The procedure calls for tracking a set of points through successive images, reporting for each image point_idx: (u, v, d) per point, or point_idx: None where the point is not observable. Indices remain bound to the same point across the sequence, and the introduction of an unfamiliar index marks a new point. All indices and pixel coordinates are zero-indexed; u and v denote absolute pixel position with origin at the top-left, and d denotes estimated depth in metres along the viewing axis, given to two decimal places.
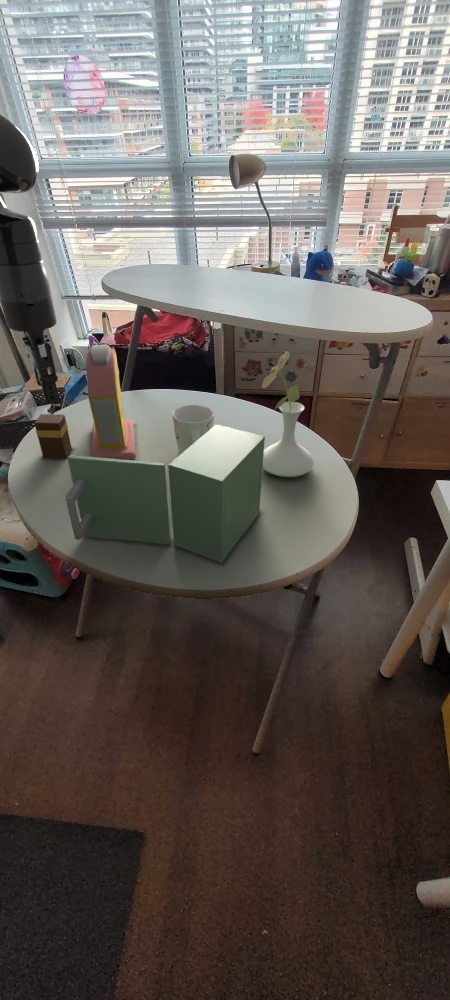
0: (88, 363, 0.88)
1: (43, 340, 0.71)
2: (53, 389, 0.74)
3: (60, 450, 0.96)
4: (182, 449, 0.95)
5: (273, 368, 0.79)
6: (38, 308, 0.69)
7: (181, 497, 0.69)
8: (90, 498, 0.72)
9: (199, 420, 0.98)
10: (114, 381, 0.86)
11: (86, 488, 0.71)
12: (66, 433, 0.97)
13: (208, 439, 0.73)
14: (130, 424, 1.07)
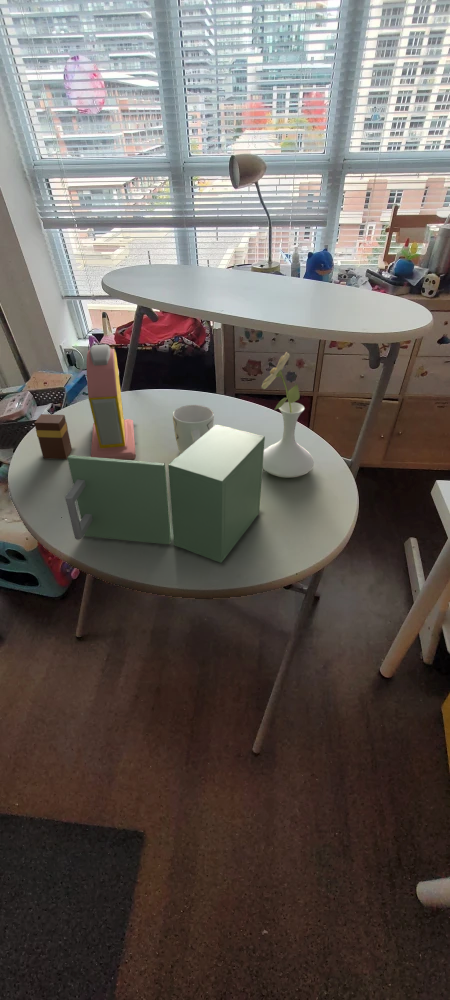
0: (88, 363, 0.88)
1: None
2: None
3: (60, 450, 0.96)
4: (182, 449, 0.95)
5: (273, 369, 0.79)
6: None
7: (181, 497, 0.69)
8: (90, 498, 0.72)
9: (199, 420, 0.98)
10: (114, 381, 0.86)
11: (86, 488, 0.71)
12: (66, 433, 0.97)
13: (208, 439, 0.73)
14: (130, 424, 1.07)
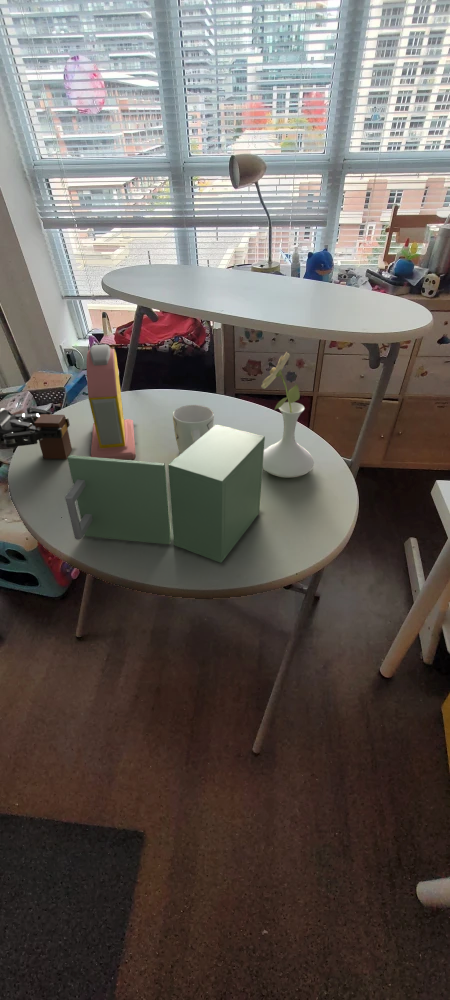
0: (88, 363, 0.88)
1: None
2: None
3: (60, 450, 0.96)
4: (182, 449, 0.95)
5: (272, 369, 0.79)
6: None
7: (181, 497, 0.69)
8: (90, 498, 0.72)
9: (199, 420, 0.98)
10: (114, 381, 0.86)
11: (86, 488, 0.71)
12: (66, 433, 0.97)
13: (208, 439, 0.73)
14: (130, 424, 1.07)
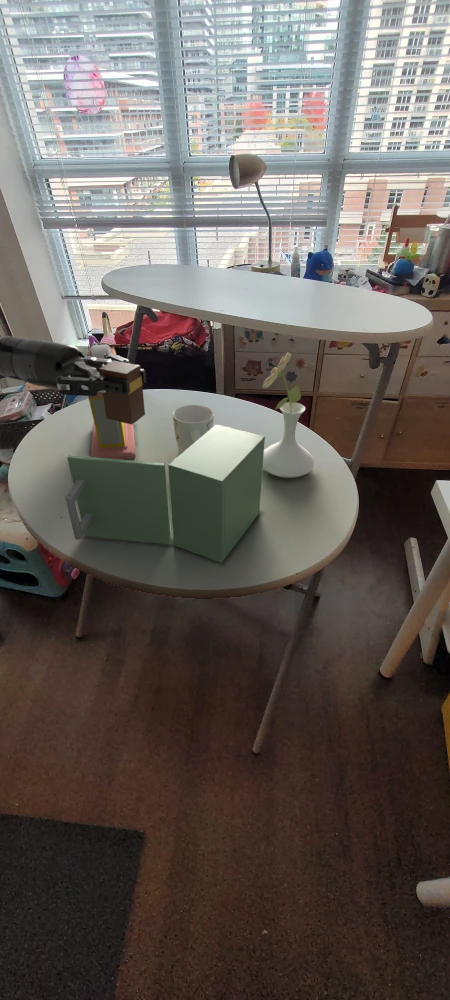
0: None
1: None
2: None
3: (125, 411, 0.72)
4: (182, 449, 0.95)
5: (274, 369, 0.79)
6: None
7: (181, 497, 0.69)
8: (90, 498, 0.72)
9: (199, 420, 0.98)
10: None
11: (86, 488, 0.71)
12: (138, 391, 0.73)
13: (208, 439, 0.73)
14: (130, 424, 1.07)
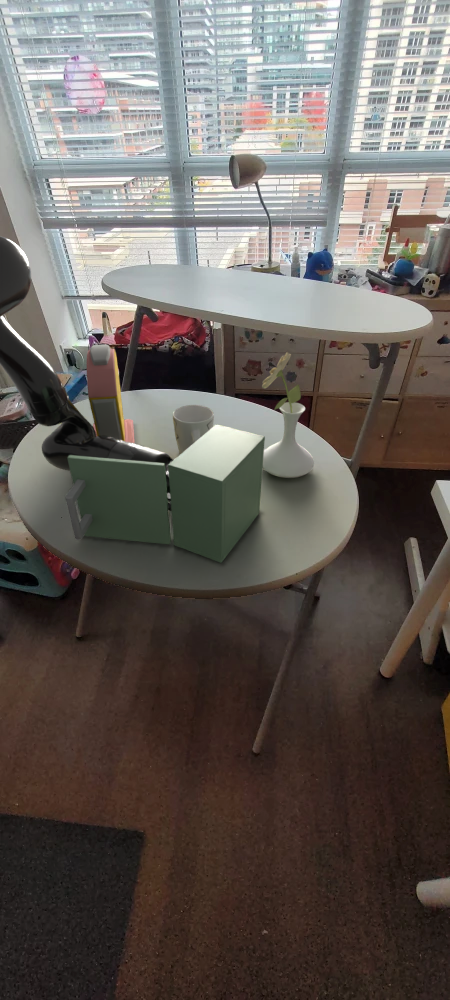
0: (88, 363, 0.88)
1: None
2: None
3: None
4: (182, 449, 0.95)
5: (273, 369, 0.79)
6: None
7: (181, 497, 0.69)
8: (90, 498, 0.72)
9: (199, 420, 0.98)
10: (114, 381, 0.86)
11: (86, 488, 0.71)
12: None
13: (208, 439, 0.73)
14: (130, 424, 1.07)
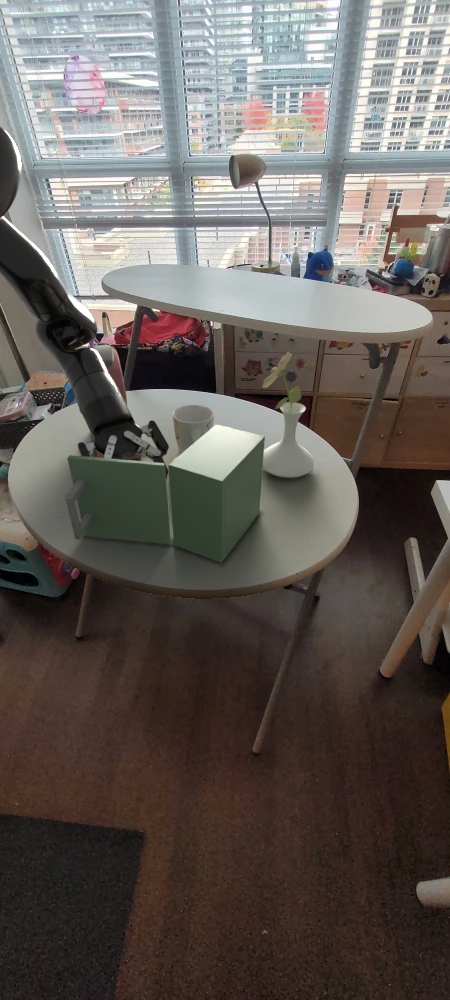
0: None
1: None
2: None
3: None
4: (182, 449, 0.95)
5: (274, 368, 0.79)
6: None
7: (181, 497, 0.69)
8: (90, 498, 0.72)
9: (199, 420, 0.98)
10: (122, 381, 0.87)
11: (86, 488, 0.71)
12: None
13: (208, 439, 0.73)
14: None
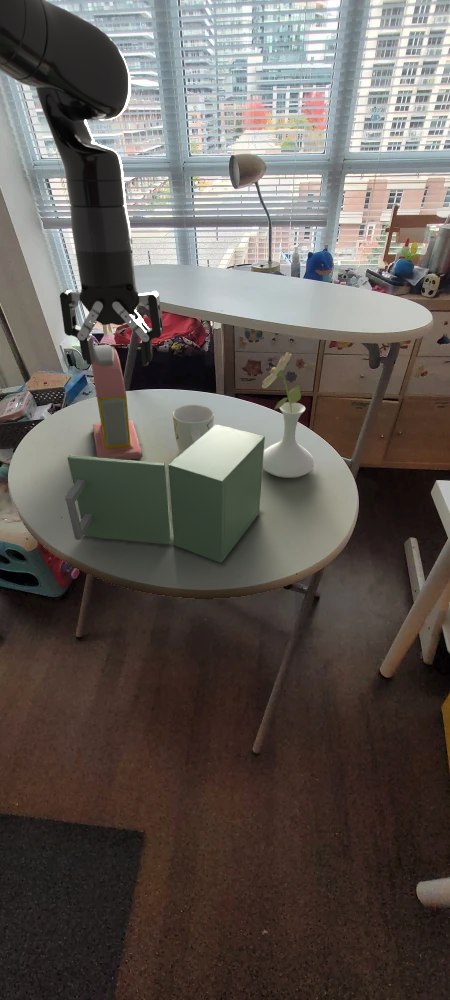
0: (94, 364, 0.88)
1: (138, 292, 0.65)
2: (151, 346, 0.69)
3: None
4: (182, 449, 0.95)
5: (273, 369, 0.79)
6: (132, 256, 0.63)
7: (181, 497, 0.69)
8: (90, 498, 0.72)
9: (199, 420, 0.98)
10: (122, 381, 0.87)
11: (86, 488, 0.71)
12: None
13: (208, 439, 0.73)
14: (131, 424, 1.07)
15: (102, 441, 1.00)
